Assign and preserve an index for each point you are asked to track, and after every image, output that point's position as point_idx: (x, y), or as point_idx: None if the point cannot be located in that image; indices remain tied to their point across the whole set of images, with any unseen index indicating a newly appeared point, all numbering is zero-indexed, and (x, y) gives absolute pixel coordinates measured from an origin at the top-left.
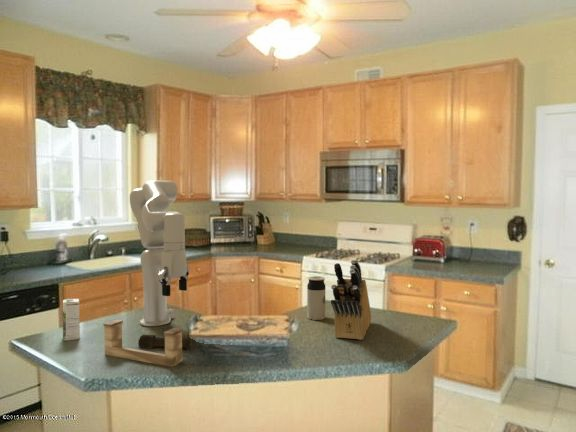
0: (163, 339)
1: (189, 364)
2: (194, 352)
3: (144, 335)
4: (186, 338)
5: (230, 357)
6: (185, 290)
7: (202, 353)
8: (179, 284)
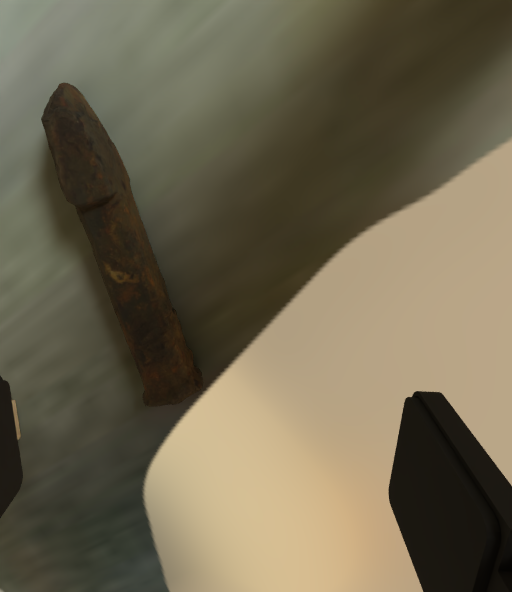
0: (102, 269)
1: None
2: (141, 425)
3: (54, 132)
4: (172, 385)
5: (157, 570)
6: (396, 491)
7: (146, 461)
8: (441, 463)
